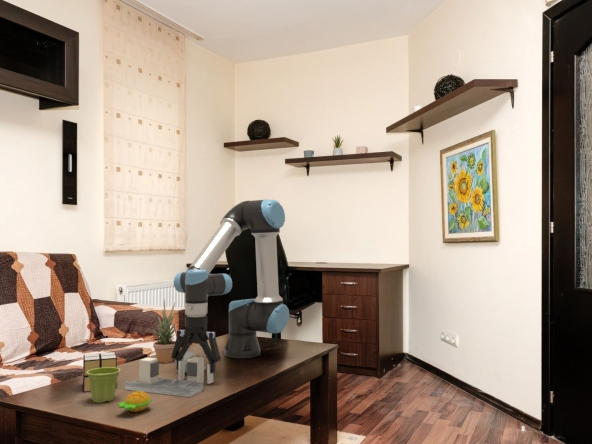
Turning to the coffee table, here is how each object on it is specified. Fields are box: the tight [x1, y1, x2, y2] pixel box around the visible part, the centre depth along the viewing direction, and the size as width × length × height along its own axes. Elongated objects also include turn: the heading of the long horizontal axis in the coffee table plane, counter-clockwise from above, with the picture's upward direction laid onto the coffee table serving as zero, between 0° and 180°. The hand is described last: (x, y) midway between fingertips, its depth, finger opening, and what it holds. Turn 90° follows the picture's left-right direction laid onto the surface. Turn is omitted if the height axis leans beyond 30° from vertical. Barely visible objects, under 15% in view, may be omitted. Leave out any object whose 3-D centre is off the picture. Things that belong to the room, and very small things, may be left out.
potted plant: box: [152, 299, 178, 364], centre depth 202 cm, size 10×10×25 cm
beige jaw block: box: [186, 356, 205, 383], centre depth 170 cm, size 4×5×8 cm
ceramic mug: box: [174, 350, 207, 374], centre depth 184 cm, size 11×8×8 cm
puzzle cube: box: [82, 351, 118, 393], centre depth 165 cm, size 10×10×10 cm
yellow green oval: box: [116, 391, 152, 413], centre depth 140 cm, size 7×10×5 cm
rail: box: [124, 377, 204, 398], centre depth 161 cm, size 8×24×2 cm, turn 70°
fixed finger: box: [138, 357, 160, 384], centre depth 163 cm, size 4×5×8 cm
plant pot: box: [87, 367, 121, 403], centre depth 151 cm, size 9×9×9 cm
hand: (195, 381), depth 170 cm, fingers open, 10 cm apart
